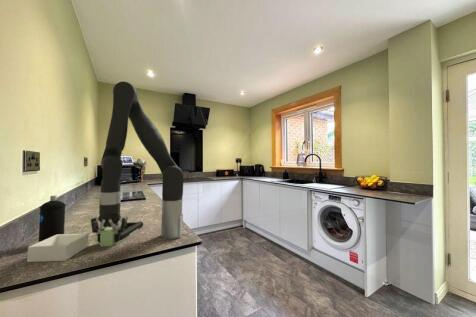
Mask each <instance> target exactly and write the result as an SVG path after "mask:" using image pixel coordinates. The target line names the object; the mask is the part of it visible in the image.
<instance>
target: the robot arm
mask: <svg viewBox="0 0 476 317" xmlns="http://www.w3.org/2000/svg"><path fill="white" fill-rule="evenodd" d="M112 96H113V97H112V113H111V118H110V124H109V127H108V130H107V136H106V142H105V148H104V150H103V151H104V152H103V153H102V157H101V162H100V166H101V168H102V179H101V182H100V194H99V201H98V202H99V205H98V207H99V208H98V209H99V212H98V214H99V216H98V217H97V216H95V217H92V218H91V219H90V224H91V232H92V233H93V234H96V235H97V240H96V241H97V242H98V244H100V232H101V231H103V230H104V229H106V228H113V230H114V231H115V233H116V234H115V244H116V243H118V242H120V240H121V239H120V234H121V232H123V231H124V230H125V229H126V224H127V223H128V219H129V218H128V216H124V217H123V216H121V199H122V197H121V179H122V173H123V161H122V159H121V158H122V153H123V151H124V149H125V147H126V141H127V136H128V128H129V121H130V122H131V126H132V127H133V130H134V131H135V134H136V135H137V137H138V139H139V141H140V142H141V144H142V146H143V147H144V149H145V150H146V151H147V153H148V154H149V155H150V156H151V158H152V159H153V160H154V161H155V162H156V164H157V167H158V168H159V170H160V173H161V175H162V183H161V184H162V186H161V187H162V189H161V190H162V192H161V193H162V194H161V226H160V227H161V228H160V231H161V232H160V233H161V234H160V237H161V238H162V239H164V240H172V239H173V240H174V239H178V238H179V239H180V238H181V237H182V235H183V231H184V230H183V228H184V227H183V226H184V225H183V224H184V214H183V195H184V172H183V170H182V169H181V168H180V167H179V166H178V165H177V164H176V162H175V161H174V159H173V158H172V156H171V154H170V153H169V150H168V147H167V144H166V142H165V140H164V138H163V136H162V135H161V133H160V130H159V129H158V128H157V126H156V124H155V123H154V122H153V121H152V119H151V118H150V117H149V116H148V115H147V114H146V112H145V111H144V109H143V106H142V105H141V103H140V100H139V97H138V94H137V90H136V88H135V87H134V85H133V84H132V83H130V82H128V81H119V82H117V83H116V84H115V85H114V86H113V88H112ZM119 221H120V223H119ZM99 223H100V225H99ZM120 227H121V228H120Z"/></svg>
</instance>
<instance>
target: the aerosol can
mask: <svg viewBox="0 0 476 317" xmlns="http://www.w3.org/2000/svg"><path fill="white" fill-rule="evenodd" d="M57 199H58V197H57V195H50V198H49V201H47V202H44V203H43V204H41V206H39V207H38V208H39V221H38V222H39V223H38V224H39V225H38V227H39V228H38V242H41V241H43V240H45V239H48V238H50V237H52V236H54V235H57V234H65V224H66V223H65V218H66V216H65V215H66V206H67V204H66V203H65V202H63V201H60V200H57Z"/></svg>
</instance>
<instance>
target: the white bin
mask: <svg viewBox="0 0 476 317" xmlns="http://www.w3.org/2000/svg"><path fill="white" fill-rule="evenodd" d="M88 247H89V233H75V234H74V233H69V234H68V233H66V234H65V233H64V234H57V235H54V236H52V237H50V238H48V239H45V240H43V241H41V242H39V241H38V242H36V243H34V244H32V245H29V246H28V247H27V257H26V258H27V260H26V262H27V263H31V262H32V263H33V262H34V263H35V262H36V263H37V262H61V261H62V262H65V261H67V260H68V259H70V258H72V257H73V256H75V255H76V254H78V253H79V252H81V251H83V250H84V249H86V248H88Z"/></svg>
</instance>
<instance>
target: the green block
mask: <svg viewBox="0 0 476 317" xmlns="http://www.w3.org/2000/svg"><path fill="white" fill-rule="evenodd" d="M115 234H116V233H115V231H114V230H113V228H112V227H105V229H104V230H103V231H101V232H100V243H99V247H113V245H115V244H116V243H115Z"/></svg>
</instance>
